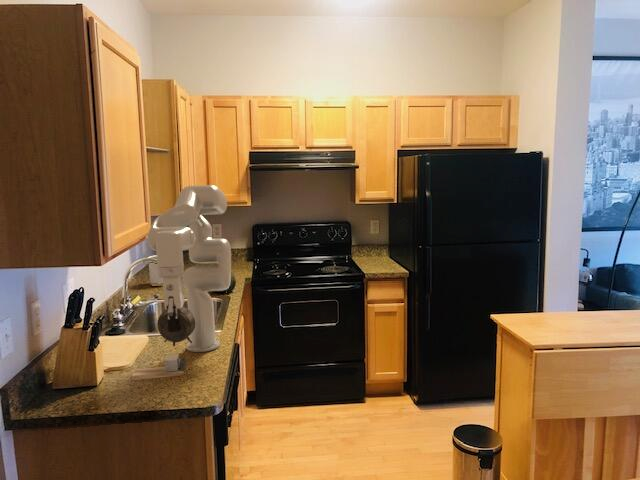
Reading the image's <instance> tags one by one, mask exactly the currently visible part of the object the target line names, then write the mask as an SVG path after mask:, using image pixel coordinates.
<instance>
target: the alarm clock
mask: <svg viewBox="0 0 640 480" xmlns="http://www.w3.org/2000/svg"><path fill="white" fill-rule="evenodd" d="M175 308H176V307H173V309H175ZM174 312H175V311H174ZM178 318H179V325H180V331H177V332H169V329H168V310H166V309H165V310H163V312H161V314H159V316H158V319H157V323H156V325H157V330H158V333H159V334H160V336H161V337H162V338H163V339H164V343H167V342H172V346H173V347H176V343H181V342H184V341H185V340H187V341H188V342H190V343H192V341H191V339H190V335H191V334H192V332H193V331H194V329H195V318H194V316H193V314H192V313H191V312H190V311H189V310H188V307H185V306H183V307H182V308H181V309H179V308H178ZM173 347H172V348H173Z"/></svg>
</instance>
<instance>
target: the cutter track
mask: <svg viewBox="0 0 640 480" xmlns="http://www.w3.org/2000/svg"><path fill="white" fill-rule="evenodd" d="M180 359H181V361H180V368H179V369H178V371H167V372H165V366H159V367H148V368H138V369H134V371H133V373H132V375H131V378H132V379H131V380H132V381H137V380H146V379H147V380H148V379H158V378H166V377H167V378H168V377H178V376H183V375H184V373H185V370H186V366H187V362H186V361H187V360H186V359H187V358H186V356H181V358H180Z"/></svg>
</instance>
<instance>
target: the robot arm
mask: <svg viewBox="0 0 640 480" xmlns="http://www.w3.org/2000/svg"><path fill="white" fill-rule="evenodd" d="M227 208H228V200H227V197H226V195H225V194H224V191H222V190H221V189H220V187H218V186H216V185H213V184H206V185H205V184H204V185H187V186H185V187H184V188H182V189H181V191H180V192H179V195H178V197H177V200H176V202H175V205H174V206H173V207H172V208H170V209H167V211H165V212H163V213H161V214H160V215H158V216H157V217H156V218H155V219H154V220H153V221H152V223H151V225H150V228H149V230H148V233H147V244H148V246H149V249H151V250H153V251H154V252H155V251H156V255H157V263H158V275H159V278H163V287H162V292H163V303H164V304H163V305H164V309H165V310H168V329H169V332H177V331H180V325H179V318H178V308H179V309H181V308H182V307H184V304H185V295H186V300H187V309H188V310H189V311H190V312H191V313H192V314H193V316H194V318H195V329H194V331H193V332H192V334H191V335H190V336H189V338H190V339H191V341H192V343H190V341H188V342H187V344H186V347H185V348H186V350H187V351H189V352H193V353H204V352H211V351H213V350H216V349H217V348H219V347H220V345H221V341H220V340H219V339H218V338H216V325H215V324H216V323H215V308H214V300H213V298H212V297H211V295H210V293H208V292H213V291H221V290H226V289H228V288H229V286H230V281H231V273H232V248H231V244H230V242H229V240H227V239H226V238H221V237H220V238H213V227H212V225H211V223H210V222H209V221H208V220H207V219H206V218H205V217H204V216H203V215H205V216H206V215H207V216H208V215H223V214H225V212H226V211H227ZM183 251H188V259H189V260H190V262H192V263H194V264H218V265H194V266H191V267H187V268H186V269H185V264H184V252H183ZM184 291H185V292H184ZM185 293H186V294H185ZM173 307H176V308H175V309H173ZM174 311H175V312H174Z"/></svg>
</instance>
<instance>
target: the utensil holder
mask: <svg viewBox="0 0 640 480" xmlns="http://www.w3.org/2000/svg"><path fill="white" fill-rule="evenodd" d="M148 258H157V254H156V255H151V256H147V259H148ZM148 269H149V270H148V271H149V282H151V283H158V284H161V283H163V278H159V275H158V264H155V263H149V262H148ZM151 283H150V284H151Z"/></svg>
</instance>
